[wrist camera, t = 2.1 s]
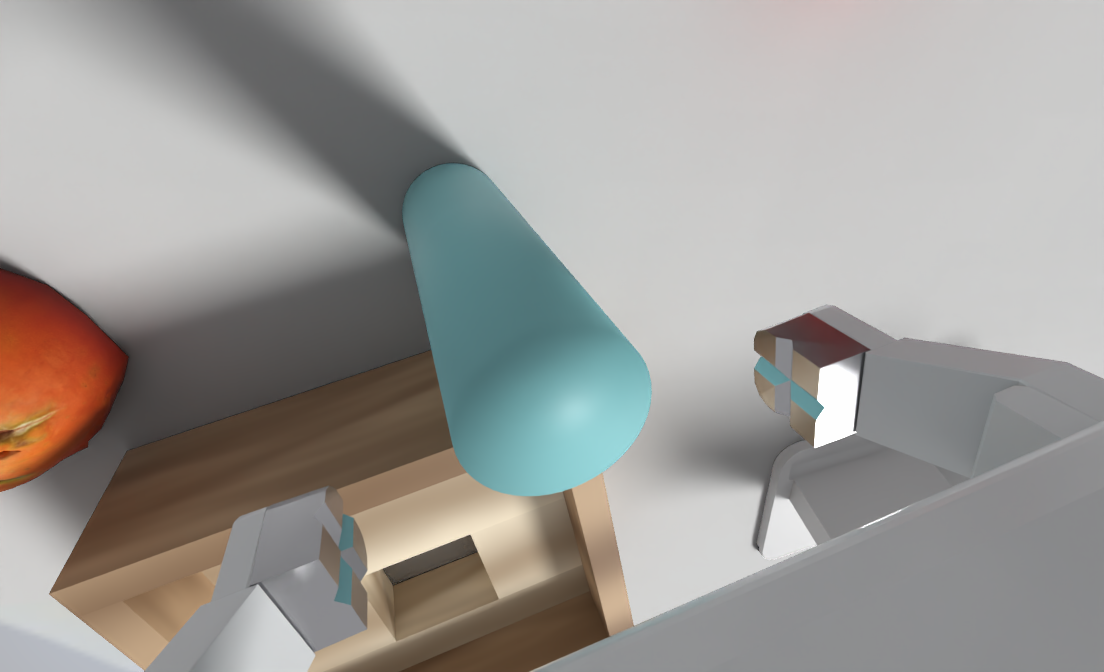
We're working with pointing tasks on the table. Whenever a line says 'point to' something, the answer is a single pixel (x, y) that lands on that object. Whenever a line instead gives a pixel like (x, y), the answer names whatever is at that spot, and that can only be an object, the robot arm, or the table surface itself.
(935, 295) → the table surface
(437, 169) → the peg
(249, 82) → the table surface
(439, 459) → the box
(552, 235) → the table surface
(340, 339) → the table surface
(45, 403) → the tomato
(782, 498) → the phone holder
